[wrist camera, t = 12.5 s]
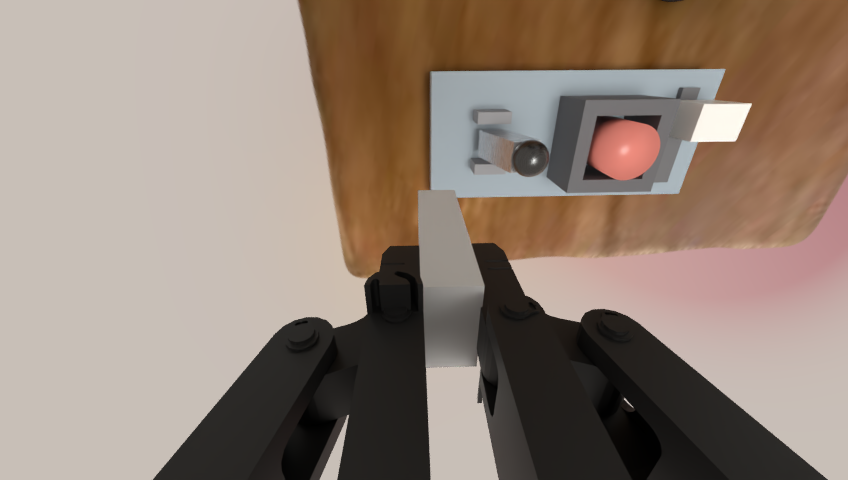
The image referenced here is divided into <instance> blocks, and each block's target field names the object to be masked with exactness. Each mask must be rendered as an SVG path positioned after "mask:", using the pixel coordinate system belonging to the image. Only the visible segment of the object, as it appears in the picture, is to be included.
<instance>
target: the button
mask: <svg viewBox="0 0 848 480" xmlns="http://www.w3.org/2000/svg"><path fill="white" fill-rule="evenodd" d="M659 150H660V137H659V134H658V132H657V131H656V130H655V129H654V128H653V127H652V126H650V125H647V124H643V123H639V122H635V121H630V120H626V119H622V118H617V117H613V116H597V119H596V123H595V128H594V132H593V136H592V141H591V145H590V150H589V154H588V158H587V163H586V164H588V165H589V166H591V167H593V168H595V169H597V170H599V171H601V172H602V173H604V174H606V175H608V176H610V177H612V178H614V179H616V180H630V179H633V178H636V177H638V176H640V175H641V174H643V173H644V172H646V171H647V170H648V169H649V168H650V167H651V166H652V164H653V163H654V161H655V160H656V158H657V156H658V153H659Z"/></svg>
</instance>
